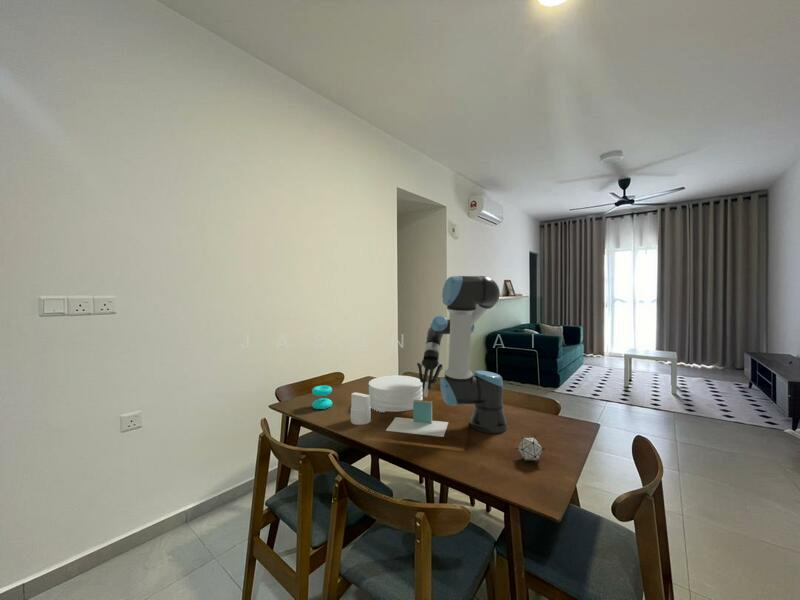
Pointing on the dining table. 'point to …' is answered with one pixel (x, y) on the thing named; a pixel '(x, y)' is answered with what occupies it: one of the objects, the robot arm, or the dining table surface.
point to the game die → (530, 449)
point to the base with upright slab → (360, 408)
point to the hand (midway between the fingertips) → (425, 395)
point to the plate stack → (394, 393)
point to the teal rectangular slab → (422, 411)
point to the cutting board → (418, 427)
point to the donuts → (322, 402)
